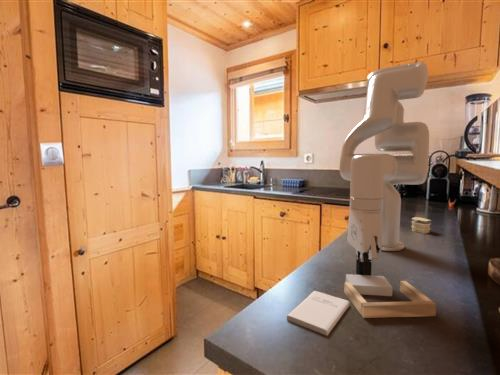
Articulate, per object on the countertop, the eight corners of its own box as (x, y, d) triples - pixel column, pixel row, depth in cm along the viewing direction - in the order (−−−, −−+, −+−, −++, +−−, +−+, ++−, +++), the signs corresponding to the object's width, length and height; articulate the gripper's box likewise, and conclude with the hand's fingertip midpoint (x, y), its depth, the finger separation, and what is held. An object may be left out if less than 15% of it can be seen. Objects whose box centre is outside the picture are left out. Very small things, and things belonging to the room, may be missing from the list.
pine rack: (344, 292, 63) (344, 282, 63) (404, 290, 64) (405, 280, 63) (363, 317, 53) (363, 305, 53) (435, 316, 54) (436, 304, 53)
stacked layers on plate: (438, 233, 112) (439, 220, 111) (425, 236, 108) (425, 222, 107) (415, 227, 121) (415, 215, 120) (401, 230, 117) (402, 217, 116)
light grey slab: (345, 283, 69) (345, 274, 68) (383, 285, 67) (383, 276, 67) (350, 295, 63) (351, 285, 63) (392, 297, 62) (392, 287, 61)
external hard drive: (286, 322, 53) (313, 296, 63) (327, 338, 48) (349, 307, 58) (286, 314, 53) (313, 289, 63) (327, 330, 48) (349, 300, 58)
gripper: (340, 200, 75) (338, 264, 77) (363, 210, 60) (361, 289, 62) (367, 199, 75) (365, 263, 77) (397, 209, 60) (393, 288, 62)
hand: (363, 275), depth 69 cm, fingers closed
